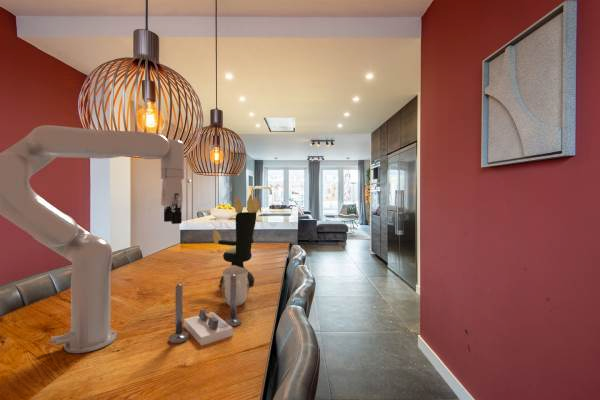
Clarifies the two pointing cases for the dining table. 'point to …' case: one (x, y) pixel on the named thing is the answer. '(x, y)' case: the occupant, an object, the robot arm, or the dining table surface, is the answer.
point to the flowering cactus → (241, 236)
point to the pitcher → (241, 284)
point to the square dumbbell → (212, 320)
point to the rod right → (233, 304)
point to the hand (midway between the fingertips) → (172, 222)
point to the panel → (207, 329)
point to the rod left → (178, 318)
